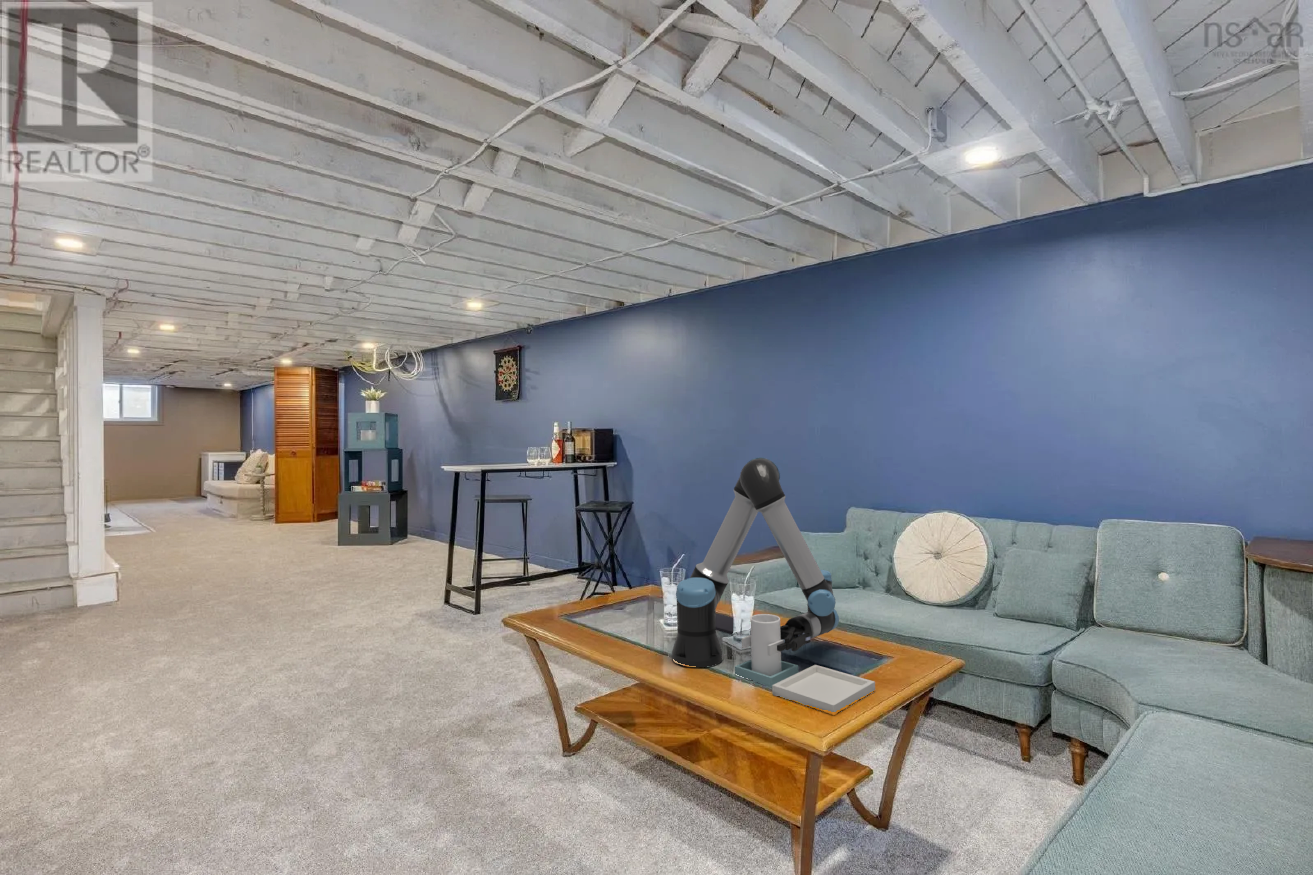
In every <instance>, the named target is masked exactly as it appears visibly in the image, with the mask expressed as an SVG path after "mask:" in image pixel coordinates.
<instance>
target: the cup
mask: <svg viewBox="0 0 1313 875" xmlns="http://www.w3.org/2000/svg"><path fill="white" fill-rule="evenodd" d="M750 622H751V628H750V630H751V646H750V650H751V651H750V653H751V656H750V657H751V658H750V660H752V671H755V672H758V673H761V674H764V675H767V676H773V675H775V674H777V673H779V672H781V671H782V670H781V661H782V651H780V652H778V653H776V654H773V655H771V656H768V653H767V645H770V644H772V643H775V642H777V641H779V640H781V635H780V626H781V618H780V616H778V615H776V614H771V613H770V614H769V613H758V614H754V615H751V616H750Z"/></svg>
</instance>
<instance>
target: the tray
mask: <svg viewBox="0 0 1313 875" xmlns="http://www.w3.org/2000/svg"><path fill="white" fill-rule="evenodd" d="M771 689H772V692H771V693H772V694H773V695H772V696H775V697H777V696H780V697H783V698H785V699H784V700H786V699H789V700H795V701H798V702H800V703H802V704H804V705H809V706H812V707H816V708H819V709H822V710H828V711H831V712H836V711H837V710H840V709H841V708H843V707H845V706H846V705H849V704H851V703H852V702H854V701H855V700H858V699H860V698H861V697H863V696H866V695H867V694H869V693H870V692H872V691H874V690H875V691H876V681H875V680H870V679H868V678H867V679H866V678H863V677H860V676H856V675H852V674H850V673H845V672H842V671H840V670H839V671H838V670H836V669H831V668H828V667H824V666H820V665H817V664H814V665H812V666H810V667H807V668H805V669H803V670H800V671H798V673H797V674H795V675H792V676H790V677H788V678H786V679H784V680H782V681H780V682H778V683H776V684H774V685H772V687H771ZM780 697H779V698H780ZM866 697H867V696H866ZM783 698H782V699H783ZM789 700H788V701H789ZM804 705H803V706H804Z"/></svg>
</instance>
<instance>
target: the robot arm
mask: <svg viewBox="0 0 1313 875" xmlns="http://www.w3.org/2000/svg"><path fill="white" fill-rule="evenodd" d="M780 478H781V473H780V471H779V467H778V465H777V464H776V463H775V462H774V461H772V460H770V459H768V458H766V457H755V458H752V459H750V460H749V461H748V462H747V463H745V465H744V466H743V467H742V468H741V472H740V474H739V477H738V480H737V481H736V483H735V486H734V487H733V490H732V491H733V493H734V498H733V500H732V502H731V504H730V506H729V509H728V511H727V512H726V514H725V516H724V519H723V521H722V523H721V525H720V527H719V529H718V531H717V533H716V535H715V537H714V539H713V541H712V543H711V544H710V547H709V549H708V551H707V552H706V555H705V557H704V559H703V561H702V562H699V563H697V564H695V566H694V568H693V571H692V573H691V575H690V577H688V578H685V579H683V580H681V581H679V583H678V584H677V586H676V592H675V597H676V598H675V599H676V621H677V622H676V624H677V626H676V627H677V628H676V630H677V634H676V638H675V642H674V645H673V649H672V652H671V653H672V654H671V656H672V657H671V659H672V658H673V659H674V660H675V661H677V662H678V663H681V664H685V665H689V666H696V667H705V668H708V667H707V666H711V667H713V666H712V665H714V666H716V665H715V664H717V665H719V664H721V663H722V662H723V650H722V647H721V644H720V641H719V639H718V638H719V637H718V635H717V630H716V614H717V613H716V610H717V607H718V604H719V603H720V601H721V599H722V596H723V594H724V592H725V590H726V588H727V586H728V584H729V582H730V581H729V577H728V573H729V571H730V569H731V567H732V566H733V563H734V562H735V559H736V557H737V555H738V553H739V551H740V550H741V547H742V545H743V543H744V541H745V539H746V537H747V535H748V533H749V531H750V529H751V527H752V525H753V523H754V521H755V519H756V517H757V516H758V513H761V515H762V517H763V518H764V520H765V522H766V524H767V526H768V528H769V530H770V531H771V532H770V533H771V534H772V536H773V538H774V540H775V541H776V544H777V545H778V547H779V549H780V551H781V553H782V555H783V557H784V558H785V561H786V562H787V564H788V566H789V569H790V570H791V572H792V574H793V576H794V578H795V580H796V581H797V584H798V585H799V588H800V589H801V592H802V594H803V596H804V597H805V599H806V601H807V602H806V603H807V604H806V605H807V612H805V613H802V614H799V615H796V616H794V617H791V618H789V619H788V620H787V621H786V623H785V624H784V625H782V626H781V625H780V635H781V640H779V641H777V642H775V643H772V644H770V645H767V653H768V656H771V655H773V654H776V653H778V652H780V651H781V652H783V651H785V650H786V651H789V650H791V651H792V652H796V651H798V650H799V649H800V648H802V647H803V646H805V645H806V644H809V643H811V640H812V639H814V638H816V637H819V636H822V635H824V634H828V633H830V632H832V631H833V630H835V628H837V627H838V626H839V622H840V617H839V614H838V612H837V610H836V609H835V608H836V597H835V594H834V592H833V584H832V583H833V579H832V573H831V572H830V571H829V570H825V569H820V567H819V565H818V563H817V561H816V559H815V558H814V555H813V554H812V551H811V550H810V548H809V546H808V544H807V541H806V540H805V538H804V536H803V534H802V532H801V530H800V529H799V527H798V525H797V523H796V521H795V519H794V517H793V515H792V513H791V511H790V510H789V507H788V506H787V504H786V501H785V499H786V494H785V492H784V491H783V489H782V485H781V482H780V480H781V479H780ZM715 613H716V614H715ZM749 630H750V631H749V633H750V634H749V635H747V636H743V637H742V638H741V648H742V649H746V648H748V647H751V629H749Z"/></svg>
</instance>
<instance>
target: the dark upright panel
mask: <svg viewBox="0 0 1313 875" xmlns="http://www.w3.org/2000/svg"><path fill="white" fill-rule="evenodd" d="M715 614H716V632H717V631H719V632H721V633H725V634H729V635H732V633H733V618H734V617H732V616H728V615H724V614H720V613H716V612H715Z"/></svg>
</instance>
